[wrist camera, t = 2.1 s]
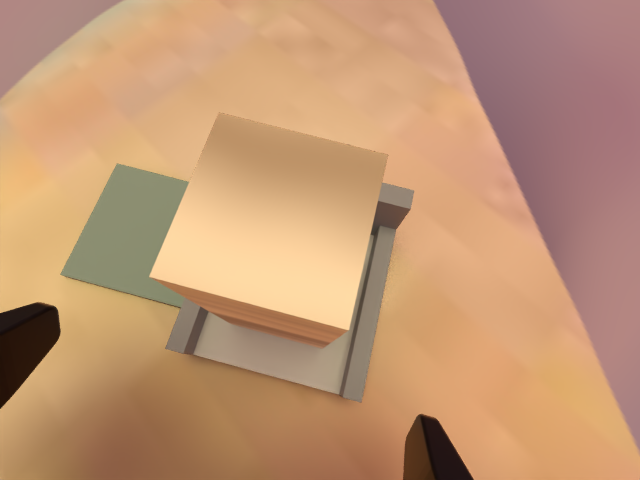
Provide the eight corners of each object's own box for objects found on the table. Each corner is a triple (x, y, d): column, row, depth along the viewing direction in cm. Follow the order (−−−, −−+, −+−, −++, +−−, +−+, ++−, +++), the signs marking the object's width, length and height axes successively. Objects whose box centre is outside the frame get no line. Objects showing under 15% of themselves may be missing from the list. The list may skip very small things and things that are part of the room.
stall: (350, 395, 18) (372, 409, 13) (189, 351, 19) (141, 345, 13) (383, 236, 21) (414, 190, 16) (243, 200, 22) (223, 142, 16)
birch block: (322, 348, 17) (348, 330, 8) (231, 324, 17) (148, 276, 8) (343, 260, 19) (388, 154, 9) (259, 238, 19) (218, 112, 9)
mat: (188, 309, 19) (186, 308, 19) (64, 276, 20) (60, 274, 19) (231, 195, 22) (230, 192, 21) (120, 166, 22) (117, 163, 22)
